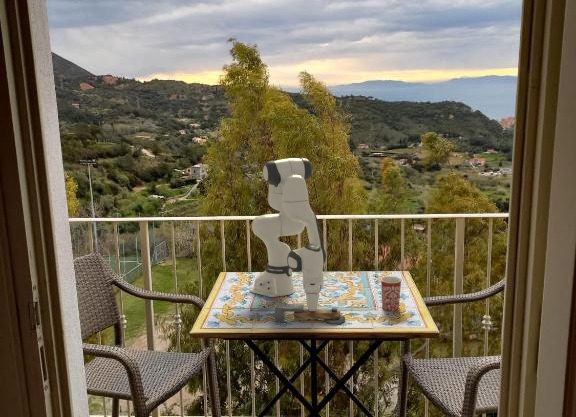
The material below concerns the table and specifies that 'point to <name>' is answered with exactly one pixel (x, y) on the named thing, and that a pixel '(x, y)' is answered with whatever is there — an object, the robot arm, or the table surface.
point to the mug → (390, 293)
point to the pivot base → (338, 321)
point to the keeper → (285, 310)
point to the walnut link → (318, 314)
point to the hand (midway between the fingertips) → (313, 313)
